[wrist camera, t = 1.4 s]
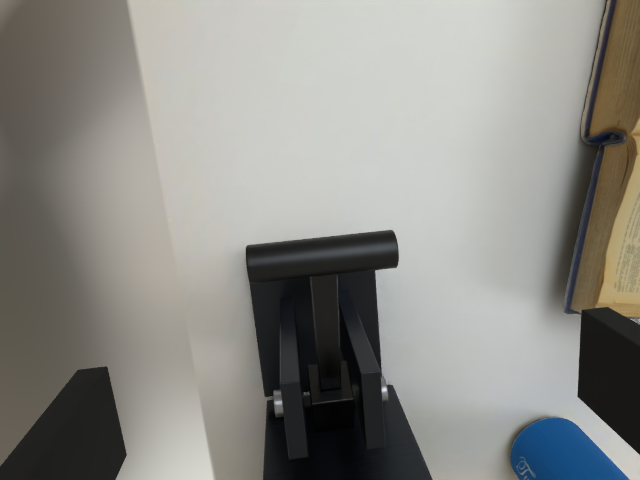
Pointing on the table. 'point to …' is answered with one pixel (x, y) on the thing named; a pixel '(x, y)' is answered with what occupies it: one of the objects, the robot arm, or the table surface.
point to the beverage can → (560, 454)
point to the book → (611, 173)
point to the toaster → (345, 450)
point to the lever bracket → (300, 351)
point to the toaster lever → (325, 306)
